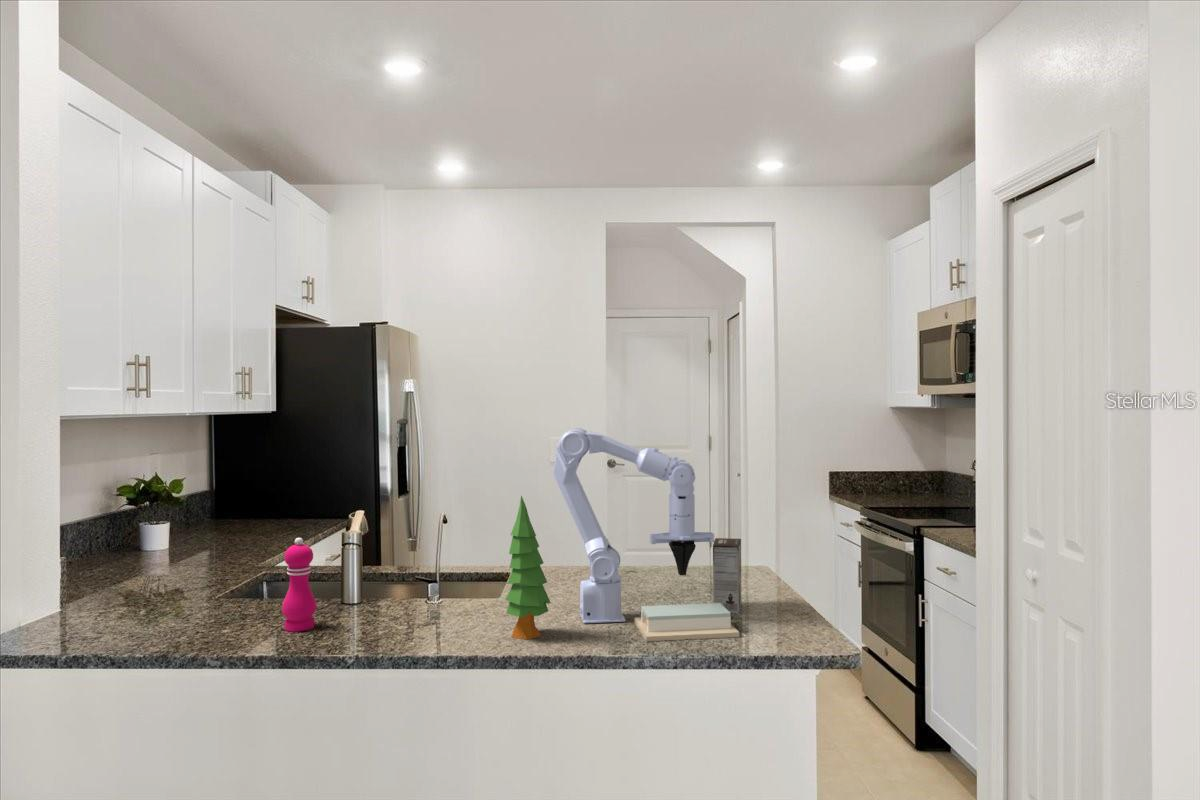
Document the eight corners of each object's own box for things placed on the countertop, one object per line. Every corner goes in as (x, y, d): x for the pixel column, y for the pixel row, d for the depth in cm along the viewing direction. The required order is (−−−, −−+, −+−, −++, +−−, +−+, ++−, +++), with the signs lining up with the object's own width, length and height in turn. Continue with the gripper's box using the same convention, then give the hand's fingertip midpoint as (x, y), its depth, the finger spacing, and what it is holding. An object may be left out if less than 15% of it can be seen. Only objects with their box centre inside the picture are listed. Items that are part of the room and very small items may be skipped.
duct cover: (648, 620, 172) (648, 616, 172) (641, 609, 180) (641, 606, 180) (730, 616, 174) (730, 613, 174) (720, 606, 182) (720, 602, 182)
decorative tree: (510, 628, 178) (509, 492, 178) (552, 628, 178) (552, 492, 178) (503, 642, 169) (502, 498, 168) (548, 642, 168) (547, 498, 168)
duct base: (646, 641, 169) (646, 624, 169) (634, 622, 183) (634, 606, 183) (739, 637, 171) (739, 620, 171) (720, 618, 185) (720, 603, 185)
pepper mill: (284, 634, 175) (283, 541, 174) (280, 625, 181) (279, 536, 181) (319, 629, 178) (318, 538, 178) (314, 621, 184) (313, 533, 184)
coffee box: (715, 602, 199) (714, 537, 199) (741, 603, 198) (741, 538, 197) (712, 612, 190) (712, 544, 190) (740, 614, 189) (740, 545, 188)
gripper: (654, 518, 179) (654, 579, 179) (717, 516, 181) (718, 577, 181) (647, 513, 186) (648, 572, 186) (709, 511, 188) (709, 570, 188)
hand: (682, 574), depth 184 cm, fingers closed
